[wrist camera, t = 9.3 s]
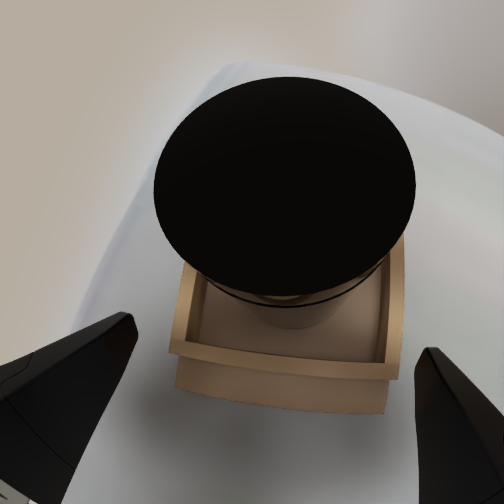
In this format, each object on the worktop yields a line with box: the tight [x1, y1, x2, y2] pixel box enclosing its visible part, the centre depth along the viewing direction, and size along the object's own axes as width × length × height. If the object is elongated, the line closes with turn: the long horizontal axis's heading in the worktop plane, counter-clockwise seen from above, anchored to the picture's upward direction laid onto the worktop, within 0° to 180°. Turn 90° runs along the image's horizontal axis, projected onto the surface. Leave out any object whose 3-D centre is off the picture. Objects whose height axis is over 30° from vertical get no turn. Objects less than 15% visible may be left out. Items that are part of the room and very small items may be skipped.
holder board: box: [169, 234, 405, 414], centre depth 17 cm, size 20×12×3 cm, turn 172°
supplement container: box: [154, 77, 416, 329], centre depth 12 cm, size 7×7×10 cm
